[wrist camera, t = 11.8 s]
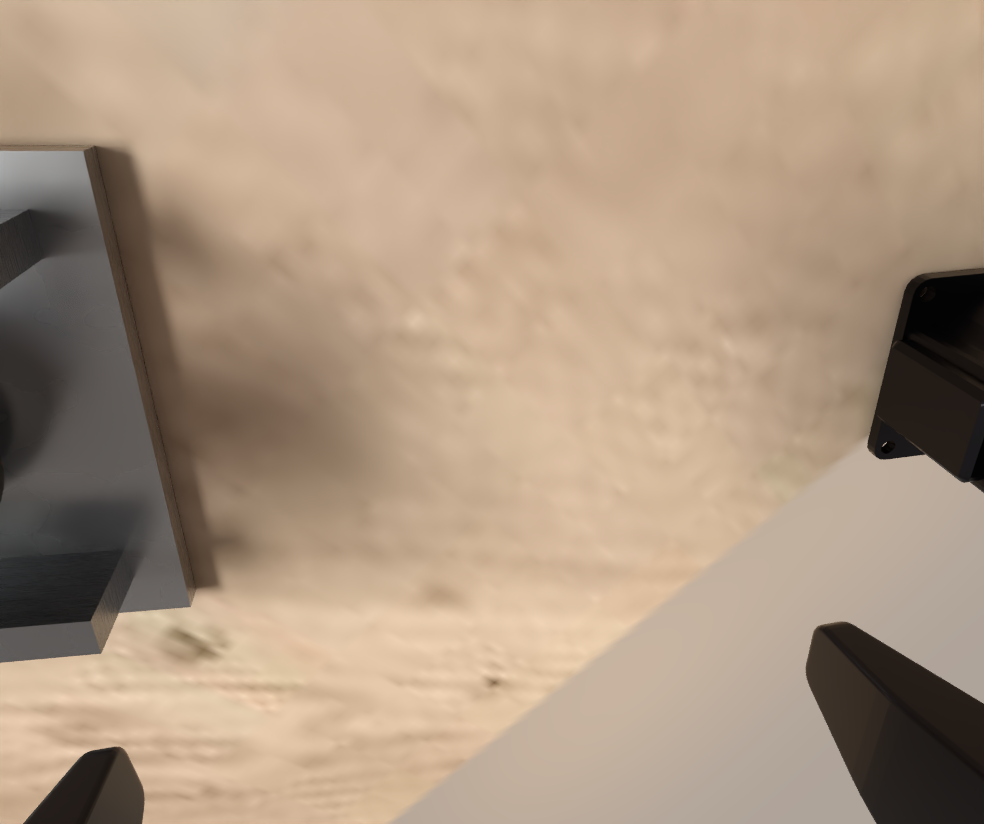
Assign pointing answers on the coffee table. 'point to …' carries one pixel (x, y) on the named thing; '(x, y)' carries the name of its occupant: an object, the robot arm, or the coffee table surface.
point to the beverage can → (1, 479)
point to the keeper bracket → (75, 421)
